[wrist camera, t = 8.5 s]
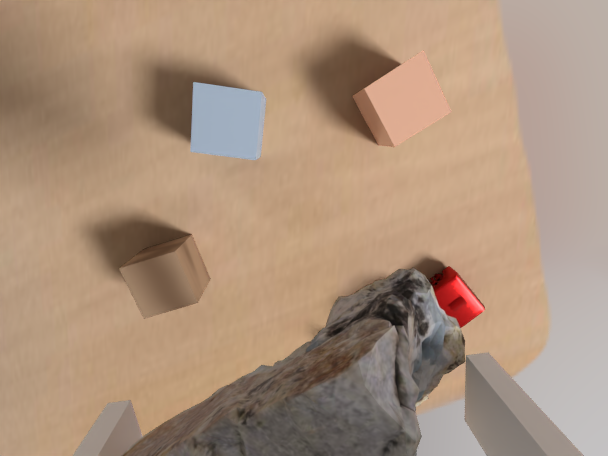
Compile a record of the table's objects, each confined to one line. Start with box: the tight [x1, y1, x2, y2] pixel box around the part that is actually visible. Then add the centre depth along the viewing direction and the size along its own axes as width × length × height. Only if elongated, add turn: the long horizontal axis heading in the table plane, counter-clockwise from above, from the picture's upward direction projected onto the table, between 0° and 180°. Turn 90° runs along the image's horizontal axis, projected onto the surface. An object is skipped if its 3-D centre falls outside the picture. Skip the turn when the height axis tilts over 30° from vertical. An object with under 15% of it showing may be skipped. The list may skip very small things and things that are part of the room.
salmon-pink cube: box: [352, 50, 452, 147], centre depth 27 cm, size 5×5×5 cm
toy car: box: [430, 266, 485, 328], centre depth 34 cm, size 14×6×5 cm, turn 131°
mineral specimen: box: [121, 268, 465, 456], centre depth 10 cm, size 10×8×10 cm
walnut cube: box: [119, 234, 210, 319], centre depth 30 cm, size 5×5×5 cm
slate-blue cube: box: [191, 82, 266, 160], centre depth 27 cm, size 5×5×5 cm
